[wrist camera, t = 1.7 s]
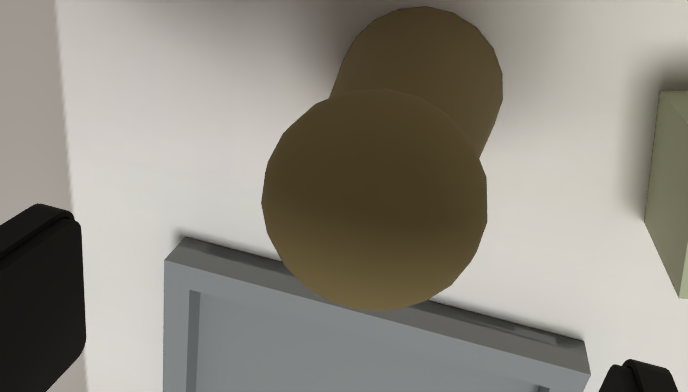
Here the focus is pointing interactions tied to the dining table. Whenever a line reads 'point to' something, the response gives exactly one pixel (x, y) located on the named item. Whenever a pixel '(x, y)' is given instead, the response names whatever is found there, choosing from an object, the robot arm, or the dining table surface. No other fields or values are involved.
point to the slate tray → (338, 338)
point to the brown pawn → (389, 165)
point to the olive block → (670, 188)
